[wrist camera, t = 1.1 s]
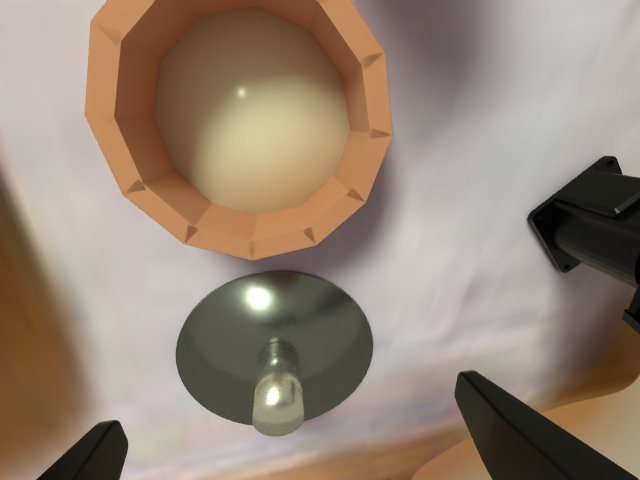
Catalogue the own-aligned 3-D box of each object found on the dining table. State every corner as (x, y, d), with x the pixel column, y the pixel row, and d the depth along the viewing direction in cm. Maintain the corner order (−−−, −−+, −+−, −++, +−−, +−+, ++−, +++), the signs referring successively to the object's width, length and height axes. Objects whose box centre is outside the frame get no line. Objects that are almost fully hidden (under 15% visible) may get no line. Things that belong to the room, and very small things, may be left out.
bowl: (399, 132, 18) (440, 138, 14) (259, 258, 20) (253, 299, 16) (255, -73, 14) (243, -168, 9) (93, 112, 16) (18, 110, 11)
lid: (404, 346, 25) (437, 407, 20) (277, 441, 28) (276, 517, 23) (280, 226, 20) (281, 266, 15) (135, 357, 22) (91, 432, 17)
